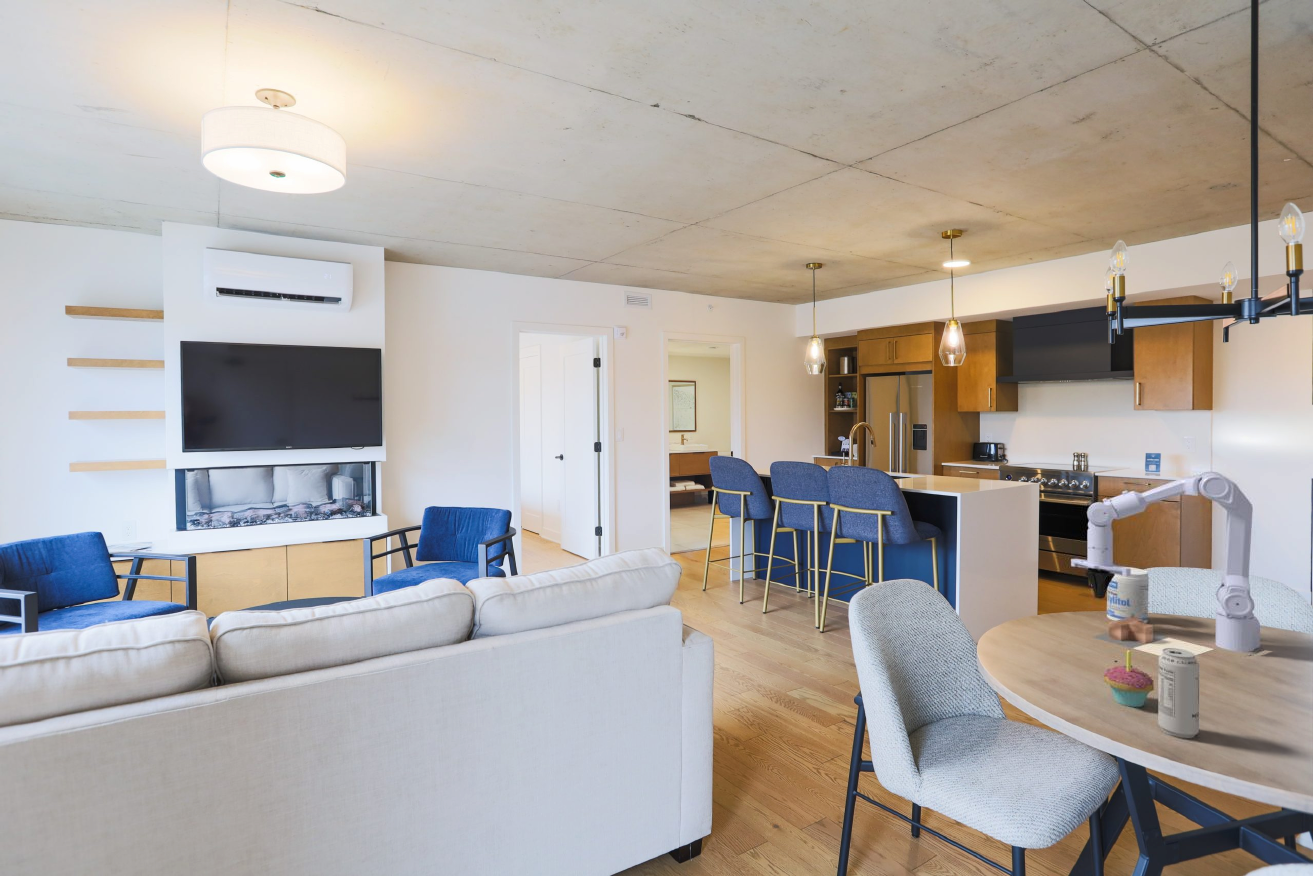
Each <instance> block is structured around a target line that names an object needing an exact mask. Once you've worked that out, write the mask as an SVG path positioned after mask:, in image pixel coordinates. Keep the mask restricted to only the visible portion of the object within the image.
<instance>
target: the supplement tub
mask: <svg viewBox="0 0 1313 876" xmlns="http://www.w3.org/2000/svg"><path fill="white" fill-rule="evenodd" d="M1125 567H1126V568H1131V576H1127V577H1126V576H1122V575H1119V574H1115V576H1114V577H1113V578H1112V580H1111V582H1110V583H1109V585H1108V588H1107V590H1106V617H1107V619H1109V620H1112V621H1116V620H1120V619H1124V618H1128V617H1134V618H1139V619H1143V623H1145V624H1148V618H1149V616H1148V615H1149V614H1148V612H1149V585H1150V582H1149V572H1148V571H1147V570H1145V569H1140V568H1136V567H1132V566H1131V567H1129V566H1128V567H1127V566H1125Z"/></svg>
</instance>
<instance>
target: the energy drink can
mask: <svg viewBox="0 0 1313 876" xmlns="http://www.w3.org/2000/svg"><path fill="white" fill-rule="evenodd" d="M1157 677H1158V679H1157V680H1158V686H1157V688H1158V692H1157V693H1158V702H1157V703H1158V706H1157V708H1158V709H1157V710H1158V711H1157V713H1158V715H1157V716H1158V717H1157V718H1158V720H1157V723H1158V725H1159V726H1160V727H1161V730H1162V731H1163V732H1164V733H1165V734H1167V735H1170V736H1172V737H1176V738H1181V739H1193V738H1195V737H1196V735H1197V734H1199V732H1200V663H1199V662H1198V661H1197V658H1196V655H1195V654H1194V653H1192V652H1190V651H1187V650H1182V649H1176V648H1165V649H1163V653H1162V654H1161V655H1160V656H1158V676H1157Z"/></svg>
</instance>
